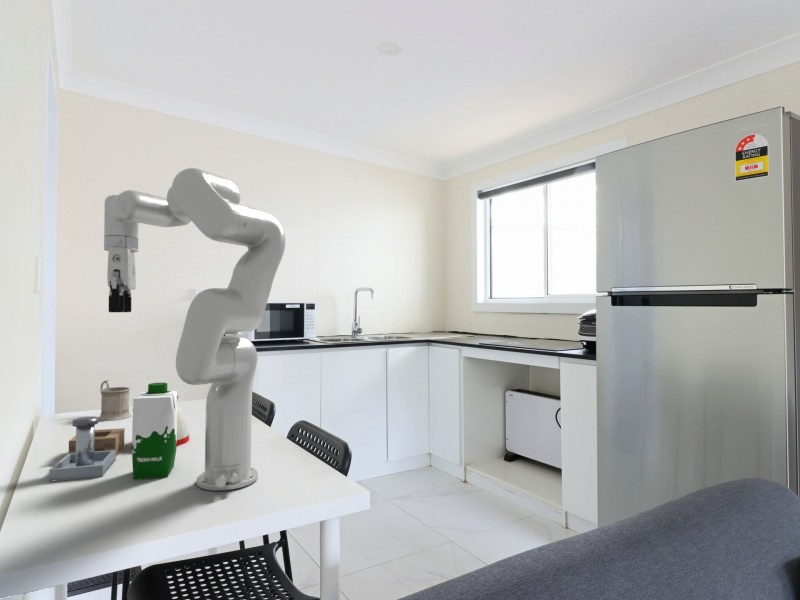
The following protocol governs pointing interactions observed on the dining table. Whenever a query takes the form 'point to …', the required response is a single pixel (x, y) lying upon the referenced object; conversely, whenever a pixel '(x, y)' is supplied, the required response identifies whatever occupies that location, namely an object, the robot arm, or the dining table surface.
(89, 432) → the pin
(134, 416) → the milk carton
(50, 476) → the tray
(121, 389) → the mug
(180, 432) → the kitchen timer
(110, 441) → the socket block
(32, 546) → the dining table surface
